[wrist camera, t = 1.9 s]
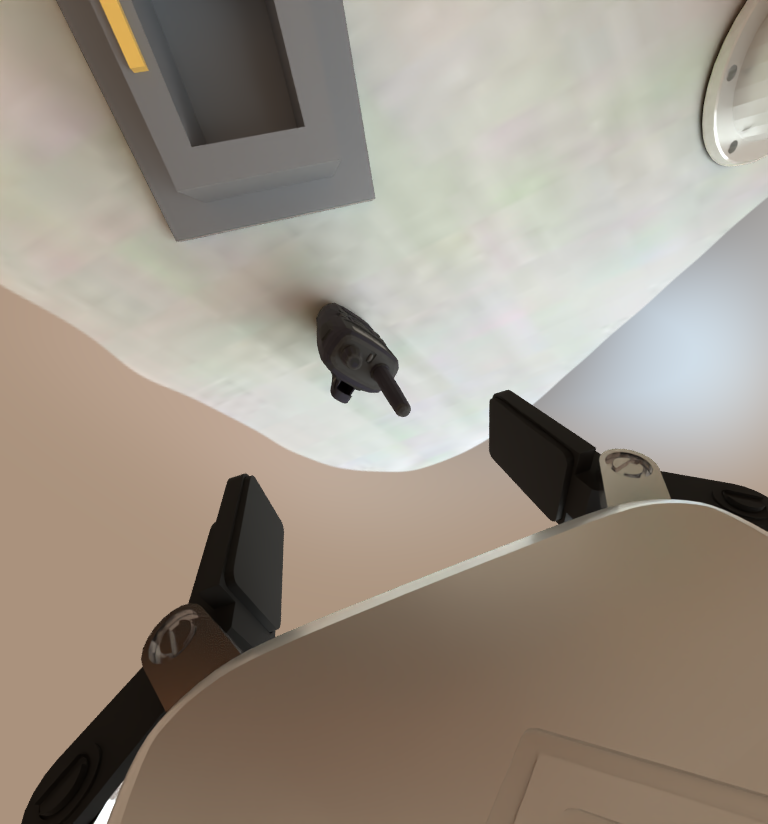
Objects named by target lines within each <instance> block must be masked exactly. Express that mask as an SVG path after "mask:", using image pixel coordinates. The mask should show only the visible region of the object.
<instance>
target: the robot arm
mask: <svg viewBox="0 0 768 824" xmlns="http://www.w3.org/2000/svg"><path fill="white" fill-rule="evenodd" d="M702 129H703V139H704V143H705V146H706V150H707V152H708V153H709V155H710V157H711V158H712V159H713V160H714V161H715V162H717V163H718V164H719V165H723V166H727V167H729V166H739V165H744V164H748V163H753V162H755V161H758V160H760V159H762V158H764V157H766V156H767V155H768V0H747V2H746V3H745V5H744V6H743V8H742V10H741V11H740V13H739V14H738V16H737V18H736V19H735V21H734V23H733V25H732V27H731V29H730V31H729V33H728V35H727V37H726V38H725V40H724V42H723V45H722V47H721V50H720V52H719V54H718V57H717V59H716V62H715V64H714V67H713V70H712V74H711V77H710V80H709V83H708V87H707V92H706V96H705V101H704V107H703V118H702ZM595 450H596V448H595V447H594V446H592V445H591V444H589V443H588V442H586V441H585V440H583V439H582V438H580V437H579V436H577V435H576V434H575V433H573V432H572V431H570V430H569V429H567V428H565V427H564V426H562V425H561V424H559V423H558V422H557V421H555V420H554V419H552V418H551V417H549V416H548V415H546V414H545V413H543V412H542V411H540V410H539V409H537V408H536V407H534V406H533V405H531V404H530V403H528V402H527V401H525V400H524V399H522V398H521V397H519V396H518V395H516V394H515V393H513V392H512V391H510V390H506V391H502V392H499V393H496V394H494V395H493V398H492V399H490V406H489V452H490V455H491V457H492V458H493V459H494V461H495V462H496V463H497V464H498V465H499V466H500V467H501V468H502V469H503V470H504V471H505V472H506V473H507V474H508V475H509V477H511V479H512V480H513V481H514V482H515V483H516V484H517V485H518V486H519V487H520V488H521V489H522V490H523V492H524V493H525V494H526V495H527V496H528V497H529V498H530V499H531V500H532V501H533V502H534V503H535V504H536V506H537V507H538V508H539V509H540V510H541V511H542V512H543V513H544V514H545V515H546V516H547V517H548V518H549V519H550V520H551V521H556V522H557V523H558V524H559V525H556V526H554V527H551V528H548V529H546V530H543V531H541V532H538V533H536V534H533V535H531V536H528V537H525V538H522V539H520V540H517V541H515V542H512V543H510V544H507V545H504V546H502V547H499V548H497V549H494V550H492V551H489V552H486V553H484V554H481V555H479V556H476V557H474V558H471V559H468V560H466V561H463V562H461V563H458V564H456V565H453V566H451V567H448V568H446V569H443V570H441V571H438V572H436V573H433V574H430V575H428V576H425V577H423V578H420V579H418V580H415V581H412V582H410V583H408V584H405V585H402V586H400V587H397V588H395V589H393V590H390V591H387V592H385V593H382V594H380V595H377V596H375V597H372V598H370V599H367V600H365V601H362V602H360V603H357V604H355V605H352V606H350V607H347V608H345V609H342V610H340V611H337V612H335V613H332V614H330V615H327V616H325V617H322V618H320V619H318V620H315V621H313V622H311V623H308V624H306V625H303V626H301V627H298V628H296V629H294V630H291V631H289V632H286V633H284V634H282V635H280V636H277V637H275V630H277V629H279V628H280V622H281V598H282V569H283V541H284V540H283V539H284V529H283V524H282V522H281V520H280V519H279V517H278V515H277V514H276V512H275V510H274V508H273V507H272V505H271V504H270V502H269V500H268V498H267V497H266V495H265V493H264V492H263V490H262V488H261V487H260V485H259V484H258V482H257V480H256V478H255V477H254V476H249V475H247V474H242V475H239V476H236V477H233V478H230V479H229V480H228V481H227V485H226V488H225V492H224V495H223V499H222V502H221V506H220V510H219V514H218V517H217V520H216V522H215V523H214V524H213V525H212V527H211V529H210V532H209V535H208V539H207V542H206V546H205V549H204V553H203V556H202V559H201V563H200V566H199V569H198V573H197V576H196V580H195V583H194V586H193V590H192V593H191V597H190V600H189V603H188V604H186V605H182V606H180V607H179V608H176V609H175V610H173V611H172V612H170V613H169V614H168V615H167V616H165V617H164V618H163V619H162V620H161V621H160V622H159V624H157V626H156V627H155V628H154V629H153V631H152V633H151V634H150V635H149V637H148V638H147V641H146V643H145V645H144V647H143V651H142V657H141V661H142V666H143V667H142V668H141V669H140V670H139V671H138V672H137V674H136V675H135V676H134V677H133V678H132V679H131V680H130V681H129V682H128V683H127V685H126V686H125V687H124V688H123V689H122V690H121V691H120V692H119V693H118V694H117V695H116V696H115V698H114V699H113V700H112V701H111V702H110V703H109V704H108V705H107V706H106V707H105V708H104V709H103V711H102V712H101V713H100V714H99V715H98V716H97V717H96V718H95V719H94V720H93V722H92V723H91V724H90V725H89V726H88V727H87V728H86V729H85V730H84V731H83V732H82V733H81V734H80V736H79V737H78V738H77V739H76V740H75V741H74V742H73V743H72V745H70V747H69V748H68V749H67V750H66V751H65V752H64V753H63V754H62V755H61V756H60V757H59V759H58V760H57V761H56V762H55V763H54V764H53V766H52V767H51V768H50V769H49V771H48V772H47V773H46V774H45V776H44V777H43V779H42V780H41V782H40V784H39V785H38V787H37V788H36V790H35V791H34V793H33V795H32V797H31V799H30V801H29V804H28V806H27V808H26V810H25V813H24V816H23V819H22V823H21V824H768V497H766V496H764V495H763V494H761V493H759V492H757V491H754V490H752V489H749V488H746V487H743V486H739V485H735V484H731V483H725V482H719V481H714V480H708V479H702V478H697V477H690V476H685V475H679V474H674V473H668V472H662V471H660V469H659V467H658V466H657V464H656V463H655V462H654V461H653V460H652V459H650V458H649V457H647V456H645V455H643V454H641V453H638V452H635V451H632V450H627V449H611V450H607V451H605V452H603V453H602V454H599V453H598V452H596V451H595Z"/></svg>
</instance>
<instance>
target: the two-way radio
mask: <svg viewBox="0 0 768 824" xmlns="http://www.w3.org/2000/svg"><path fill="white" fill-rule="evenodd" d="M316 319H317V346H318V350H319V354H320V357H321V360H322V361H323V363H324V364H325V365H326V367H327V368H328V369H329V370H330V371H331V373H332V385H331V390H330V391H331V395H332V396H333V397H334V398H335V399H336V400H338V401H340V402H342V403H348V401H349V400H350V398H351V397H352V396H351V394H352V393H353V391H354V390H355V389H356V390H359V391H360V390H362V391H366V392H369V393H378V392H379V391H382V392H383V394H384V396H385V397H386V399H387V400H388V402H389V403H390V405H391V406H392V408H393V409H394V411H395V412H396V414H397V415H398V416H401V417H405V416H407V415H409V413H410V411H411V408H410V405H409V403H408V401H407V400H406V398H405V396H404V394H403V393H402V391H401V389H400V387H399V386H398V384H397V383H396V381H395V380H394V377H395V375H396V374H397V371H398V368H399V367H398V360H397V358H396V357H395V356H394V355H393V353H392V352H391V351H390V350H389V349H388V348H387V346H386V344H385V343H384V342H383V340H382V339H381V338H380V336H379V335H378V334H377V333H376V332H374V331H373V329H372V328H371V327H370V326H369V324H368V323H366V322H365V321H364V320H362V319H361V318H360V317H358V316H357V315H355V314H354V313H352V312H351V311H349V310H348V309H346V308H344V307H343V306H340V305H338V304H336V303H332V304H328V305H326V306H324V307H323V308H322V309H321V311H320V312H319V314H318V316H317V318H316Z"/></svg>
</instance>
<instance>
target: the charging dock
mask: <svg viewBox="0 0 768 824" xmlns="http://www.w3.org/2000/svg"><path fill="white" fill-rule="evenodd" d="M56 1H57V3H58V5H59V7H60V9H61V11H62V13H63V15H64V17H65V19H66V21H67V23H68V25H69V27H70V29H71V31H72V33H73V35H74V37H75V39H76V41H77V43H78V45H79V47H80V49H81V51H82V53H83V55H84V57H85V59H86V61H87V63H88V65H89V67H90V69H91V71H92V73H93V75H94V77H95V79H96V81H97V83H98V85H99V87H100V89H101V91H102V93H103V95H104V97H105V99H106V101H107V103H108V105H109V107H110V109H111V111H112V113H113V115H114V117H115V119H116V121H117V123H118V125H119V127H120V129H121V131H122V133H123V135H124V137H125V139H126V141H127V143H128V145H129V147H130V149H131V151H132V153H133V155H134V157H135V159H136V161H137V163H138V165H139V167H140V170H141V172H142V174H143V176H144V178H145V180H146V182H147V184H148V186H149V188H150V190H151V192H152V194H153V196H154V198H155V200H156V202H157V204H158V206H159V208H160V210H161V212H162V214H163V216H164V218H165V220H166V222H167V224H168V226H169V228H170V230H171V232H172V234H173V236H174V238H175V240H176V241H186V240H191V239H195V238H200V237H205V236H209V235H214V234H219V233H223V232H228V231H232V230H237V229H242V228H246V227H251V226H256V225H260V224H265V223H270V222H274V221H279V220H284V219H288V218H293V217H297V216H302V215H307V214H311V213H316V212H321V211H325V210H330V209H335V208H339V207H344V206H349V205H353V204H358V203H362V202H367V201H372V200H374V199H375V193H374V187H373V181H372V175H371V169H370V163H369V157H368V151H367V145H366V139H365V133H364V127H363V121H362V115H361V109H360V103H359V97H358V91H357V85H356V79H355V73H354V67H353V61H352V55H351V49H350V43H349V37H348V31H347V24H346V18H345V12H344V6H343V0H56Z"/></svg>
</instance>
